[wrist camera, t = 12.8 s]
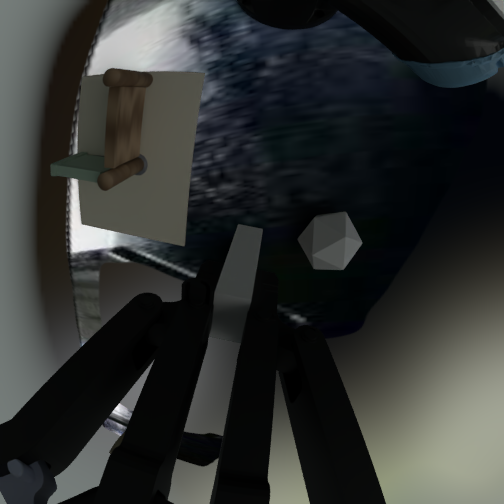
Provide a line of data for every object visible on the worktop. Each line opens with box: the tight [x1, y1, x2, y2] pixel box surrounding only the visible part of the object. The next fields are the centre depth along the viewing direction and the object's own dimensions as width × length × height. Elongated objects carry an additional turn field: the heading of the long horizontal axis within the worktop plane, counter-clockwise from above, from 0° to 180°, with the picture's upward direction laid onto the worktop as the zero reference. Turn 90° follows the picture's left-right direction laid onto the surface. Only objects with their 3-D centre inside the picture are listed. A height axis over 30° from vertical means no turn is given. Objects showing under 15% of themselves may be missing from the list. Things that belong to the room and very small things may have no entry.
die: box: [297, 212, 362, 270], centre depth 39 cm, size 8×9×10 cm
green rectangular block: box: [51, 152, 112, 183], centre depth 35 cm, size 10×2×8 cm, turn 77°
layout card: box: [78, 72, 205, 246], centre depth 39 cm, size 28×22×1 cm
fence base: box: [97, 68, 153, 191], centre depth 32 cm, size 16×2×10 cm, turn 170°
